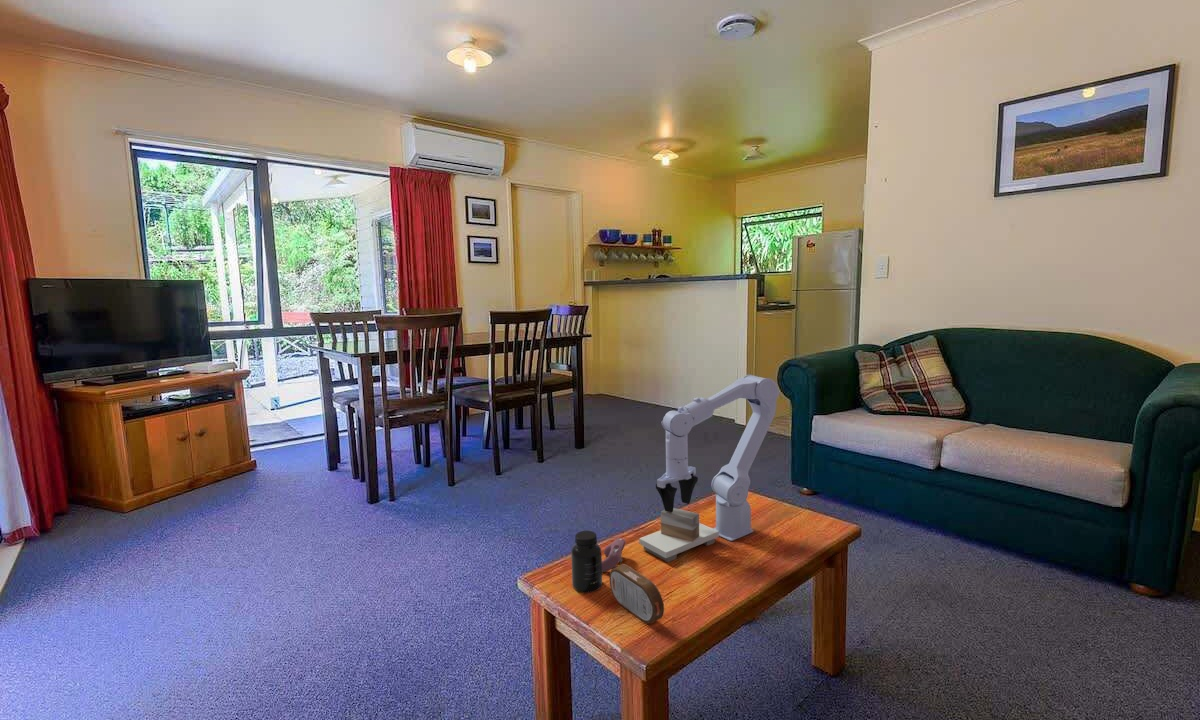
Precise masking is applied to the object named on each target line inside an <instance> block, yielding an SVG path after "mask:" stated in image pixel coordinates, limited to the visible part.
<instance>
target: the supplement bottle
mask: <svg viewBox="0 0 1200 720" xmlns="http://www.w3.org/2000/svg"><path fill="white" fill-rule="evenodd" d="M574 537H575V538H574V539H575V540H574V545H573V546H572V548H571V549H570V550H571V553H570V554H571V555H570V556H571V557H570V560H571V583H572V587H573V588H574V590H575V591H577V592H579V591H580V592H579V593H584V594H588V592H589V593H593V592H596V591H598V590H599V589H601V587H602V585H603V572H602V561H603V560H602V558H603V557H602V556H603V555H602V547H601V545H599V544H598V539H597V533H596V532H595V531H592V530H580V531H578V532H577V533H576V534H575V535H574Z"/></svg>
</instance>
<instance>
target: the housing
mask: <svg viewBox="0 0 1200 720" xmlns="http://www.w3.org/2000/svg"><path fill="white" fill-rule="evenodd" d="M699 523H700V513H699V512H693V511H689V510H685V509H682V508H681V509H679V508H675V507H673V512H671V513H670V512H667V511H665V509H664V508H663V509H662V510H661V511H660V531H661V534H664V535H668V536H672V537H676V538H680V539H683V540H687V541H691V542H693V541H694V540H695V539H696V538H698V537H699Z"/></svg>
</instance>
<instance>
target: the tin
mask: <svg viewBox="0 0 1200 720" xmlns="http://www.w3.org/2000/svg"><path fill="white" fill-rule="evenodd" d="M609 586H610V590H611V593H612V595H613V597H614V599H615V601H616V602H617V603H618V604H619V605H620V606H622V608H624V609H625V610H627V612H629V613H631V614H632V615H633V616H635V617H636V618H637V619H638V620H640V621H641V622H642V623H644V624H647V625H649V624H652V623H654V622H656V621H657V620H661V619H662V617H663V616H664V614H665V613H664V612H665V605H664V600H663V597H662V595H661V592H660V591H659V589H658V587H657V586H656V584H655V583H654V582H653V581H652V580H651V579H649V578H647V577H646V576H645V575H643V574H641V573H640V572H639V571H636V570H635V569H634V568H633V567H631V566H629V565H628V564H627V563H626V564H625V563H620V564H619V565H617V566H615V567H614V568H612V569H610V571H609Z"/></svg>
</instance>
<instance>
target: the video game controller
mask: <svg viewBox="0 0 1200 720" xmlns="http://www.w3.org/2000/svg"><path fill="white" fill-rule="evenodd" d="M626 543H627V541H626V540H624V538H623V539H622V538H619V537H617V538H615V539H614V540H613V542H611V543H610V544H608V545H607V546H606V547H604V549H603V554H604V555H605V556H606V558H604V559H603V560H602V573H607V572H608V571H609V572H610V571H611V570H612V569H614V568H616V567H617V566H618V563H620V564H622V561H623V558H622V554H623V550H624V549H625V545H626Z"/></svg>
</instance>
